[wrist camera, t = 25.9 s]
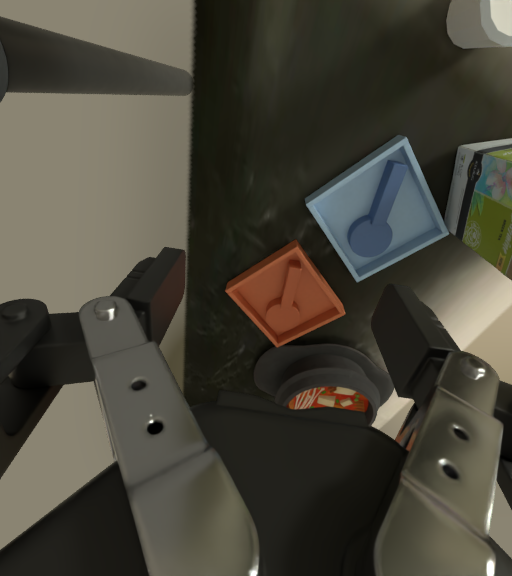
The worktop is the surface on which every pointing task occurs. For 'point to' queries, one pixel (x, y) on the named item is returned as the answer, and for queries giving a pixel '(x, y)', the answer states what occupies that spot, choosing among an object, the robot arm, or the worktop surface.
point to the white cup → (480, 23)
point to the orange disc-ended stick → (285, 301)
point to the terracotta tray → (268, 285)
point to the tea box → (483, 201)
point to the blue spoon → (378, 215)
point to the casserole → (323, 378)
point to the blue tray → (358, 200)
